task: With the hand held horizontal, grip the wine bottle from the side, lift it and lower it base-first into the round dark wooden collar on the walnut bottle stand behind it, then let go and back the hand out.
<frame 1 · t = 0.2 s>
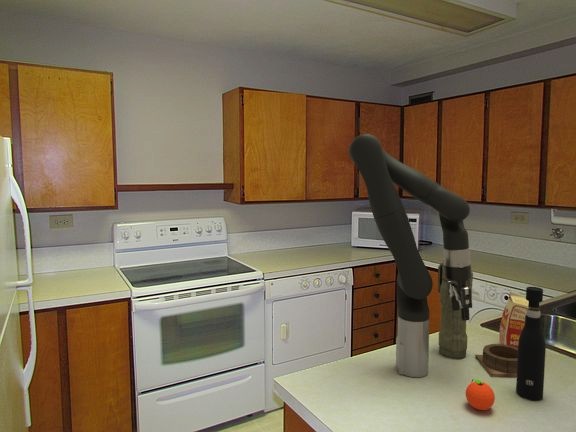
hand: (460, 315, 125), 18 cm above the counter, tool pointing down, fingers open, 8 cm apart
wine bottle: (529, 395, 113), on the counter
clementine: (478, 407, 108), on the counter
milk carton: (515, 348, 143), on the counter
bottle stand: (504, 367, 129), on the counter
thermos: (452, 354, 139), on the counter
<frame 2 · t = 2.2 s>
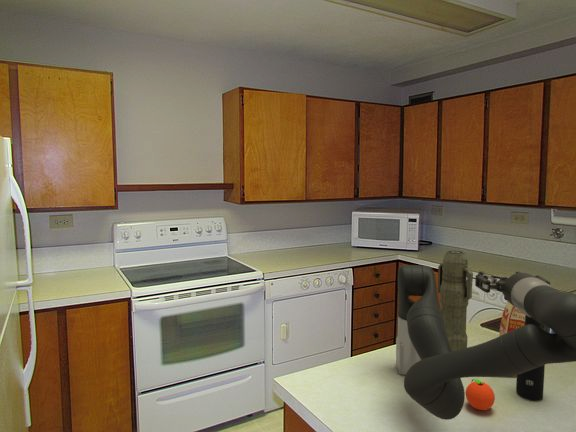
hand: (498, 275, 100), 36 cm above the counter, tool horizontal, fingers open, 8 cm apart
nothing on the counter moved.
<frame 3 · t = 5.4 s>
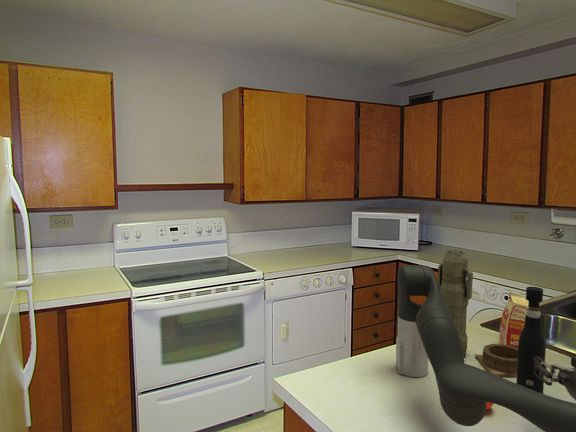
hand: (554, 360, 101), 15 cm above the counter, tool horizontal, fingers open, 8 cm apart
nothing on the counter moved.
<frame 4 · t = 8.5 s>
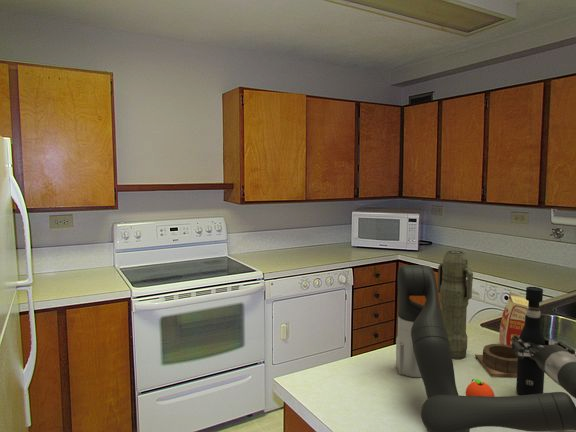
hand: (527, 338, 114), 15 cm above the counter, tool horizontal, fingers closed on wine bottle, 6 cm apart
wine bottle: (529, 395, 113), on the counter, touching gripper
everything else where it was.
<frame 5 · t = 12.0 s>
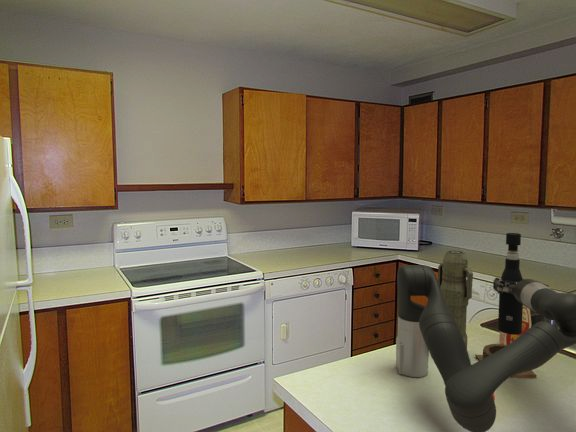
hand: (508, 280, 127), 28 cm above the counter, tool horizontal, fingers closed on wine bottle, 6 cm apart
wine bottle: (509, 331, 126), point 12 cm above the counter, touching gripper
everything else where it was.
when the fingers open (17 cm above the counter, at t = 15.8 s): wine bottle drops 1 cm, resting on bottle stand.
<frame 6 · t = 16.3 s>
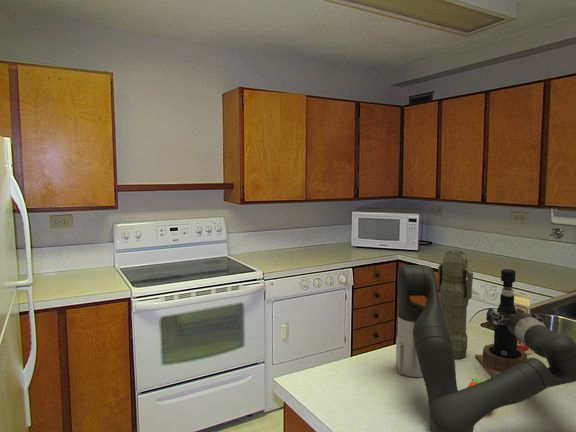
hand: (503, 311, 129), 18 cm above the counter, tool horizontal, fingers open, 8 cm apart
wine bottle: (504, 365, 129), point 1 cm above the counter, touching bottle stand
everything else where it was.
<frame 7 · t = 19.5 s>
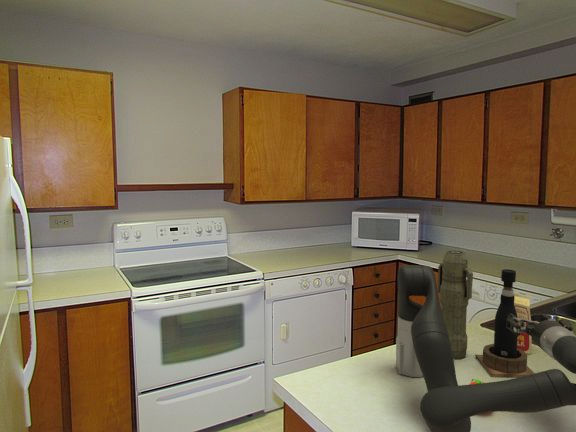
hand: (525, 317, 114), 21 cm above the counter, tool horizontal, fingers open, 8 cm apart
nothing on the counter moved.
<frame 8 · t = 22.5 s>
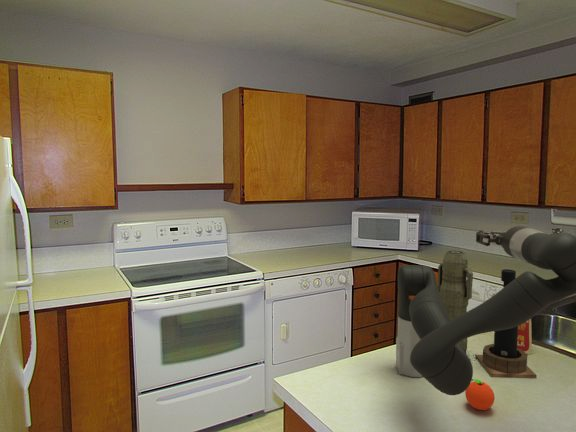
hand: (497, 234, 107), 45 cm above the counter, tool horizontal, fingers open, 8 cm apart
nothing on the counter moved.
at the end: wine bottle 0.2 cm from the bottle stand (horizontally); wine bottle tilted 0°; the gripper is holding nothing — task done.
